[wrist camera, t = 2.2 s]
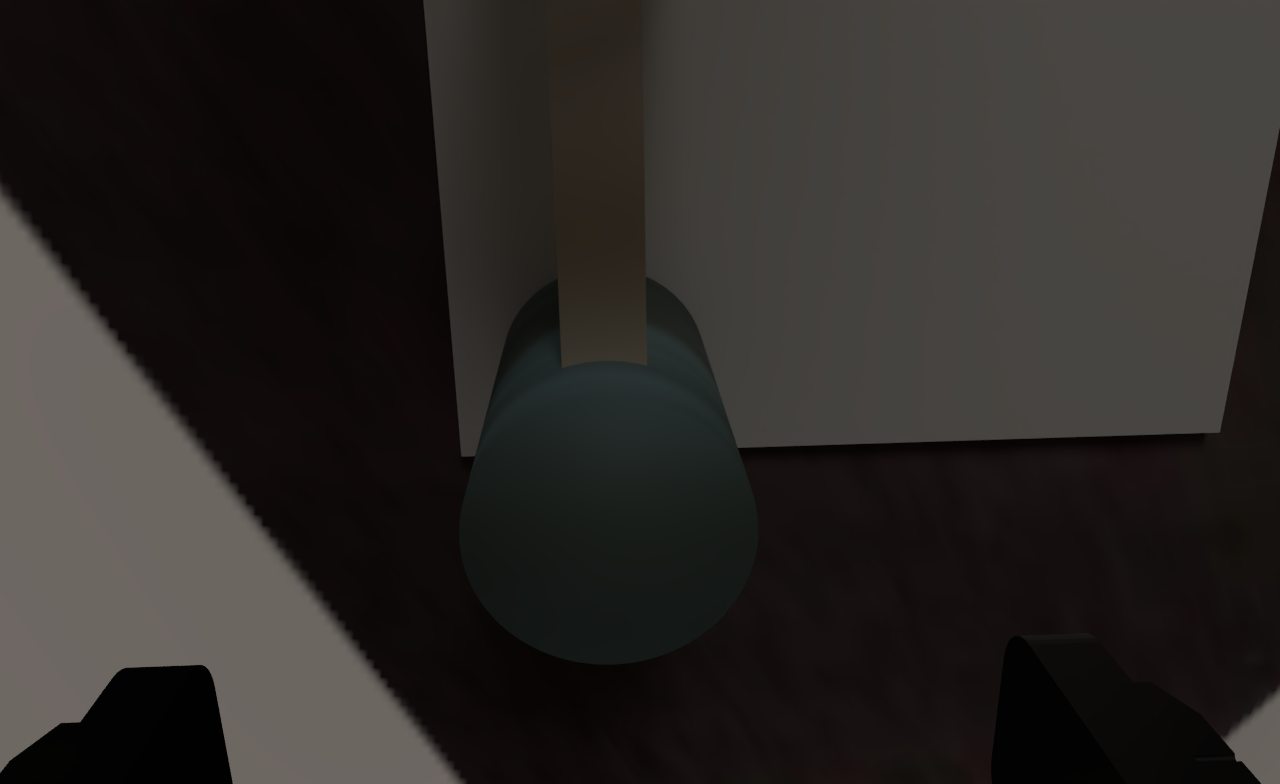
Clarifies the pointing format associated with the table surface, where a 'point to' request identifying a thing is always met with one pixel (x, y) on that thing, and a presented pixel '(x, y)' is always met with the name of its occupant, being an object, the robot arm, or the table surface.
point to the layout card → (896, 205)
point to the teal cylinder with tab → (604, 402)
